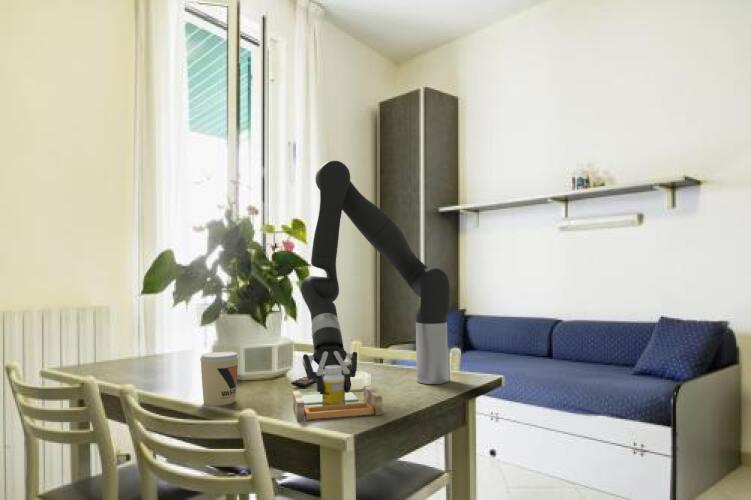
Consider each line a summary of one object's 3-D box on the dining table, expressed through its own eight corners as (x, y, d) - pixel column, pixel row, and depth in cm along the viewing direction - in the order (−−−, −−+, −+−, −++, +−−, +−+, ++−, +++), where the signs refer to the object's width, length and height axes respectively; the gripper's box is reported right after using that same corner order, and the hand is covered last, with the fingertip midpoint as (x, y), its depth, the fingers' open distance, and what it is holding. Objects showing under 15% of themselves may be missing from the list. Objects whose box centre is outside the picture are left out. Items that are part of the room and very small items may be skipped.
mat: (299, 397, 134) (299, 395, 134) (351, 393, 138) (351, 392, 138) (302, 404, 127) (302, 403, 127) (358, 400, 130) (358, 399, 130)
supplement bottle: (319, 406, 125) (319, 365, 126) (341, 403, 127) (340, 363, 127) (325, 411, 120) (325, 369, 120) (348, 409, 122) (347, 367, 122)
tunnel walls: (292, 407, 124) (292, 390, 124) (369, 401, 129) (369, 385, 129) (297, 421, 112) (297, 403, 112) (382, 414, 117) (382, 396, 117)
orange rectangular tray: (303, 414, 118) (303, 407, 118) (367, 409, 121) (367, 402, 122) (306, 420, 113) (306, 413, 113) (373, 415, 116) (373, 408, 116)
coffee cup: (224, 407, 125) (224, 357, 126) (192, 405, 128) (192, 356, 129) (245, 398, 134) (245, 352, 135) (215, 396, 137) (215, 350, 138)
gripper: (299, 326, 130) (305, 384, 118) (355, 324, 133) (366, 380, 121) (297, 345, 135) (303, 402, 123) (352, 342, 138) (362, 398, 126)
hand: (334, 391), depth 122 cm, fingers closed on supplement bottle, 5 cm apart
